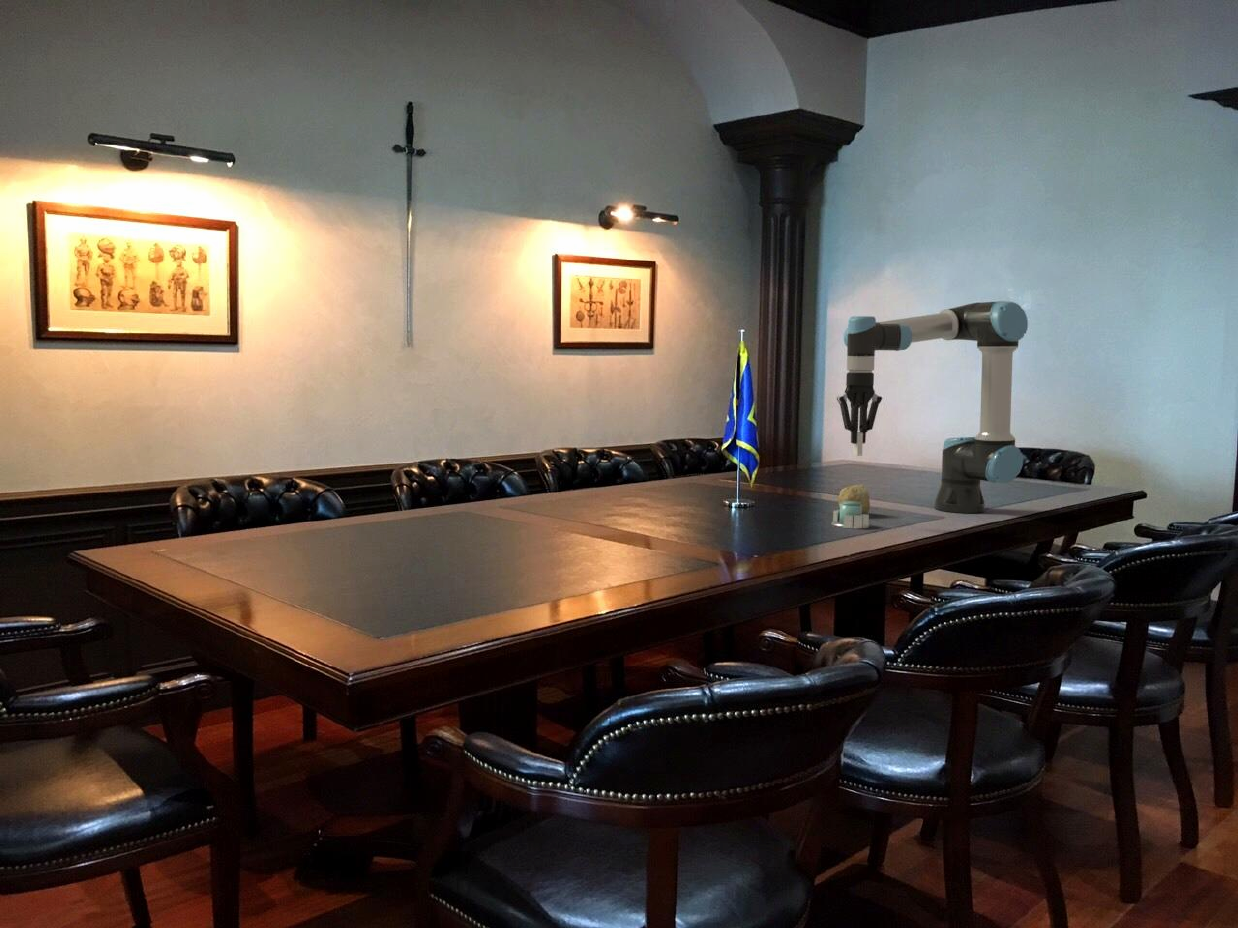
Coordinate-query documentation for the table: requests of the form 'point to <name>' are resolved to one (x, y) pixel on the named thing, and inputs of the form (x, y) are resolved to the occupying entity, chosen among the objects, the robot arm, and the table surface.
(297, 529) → the table surface
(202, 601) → the table surface
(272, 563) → the table surface
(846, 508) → the teal rounded cylinder
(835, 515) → the grey ring-shaped piece
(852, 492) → the coral
